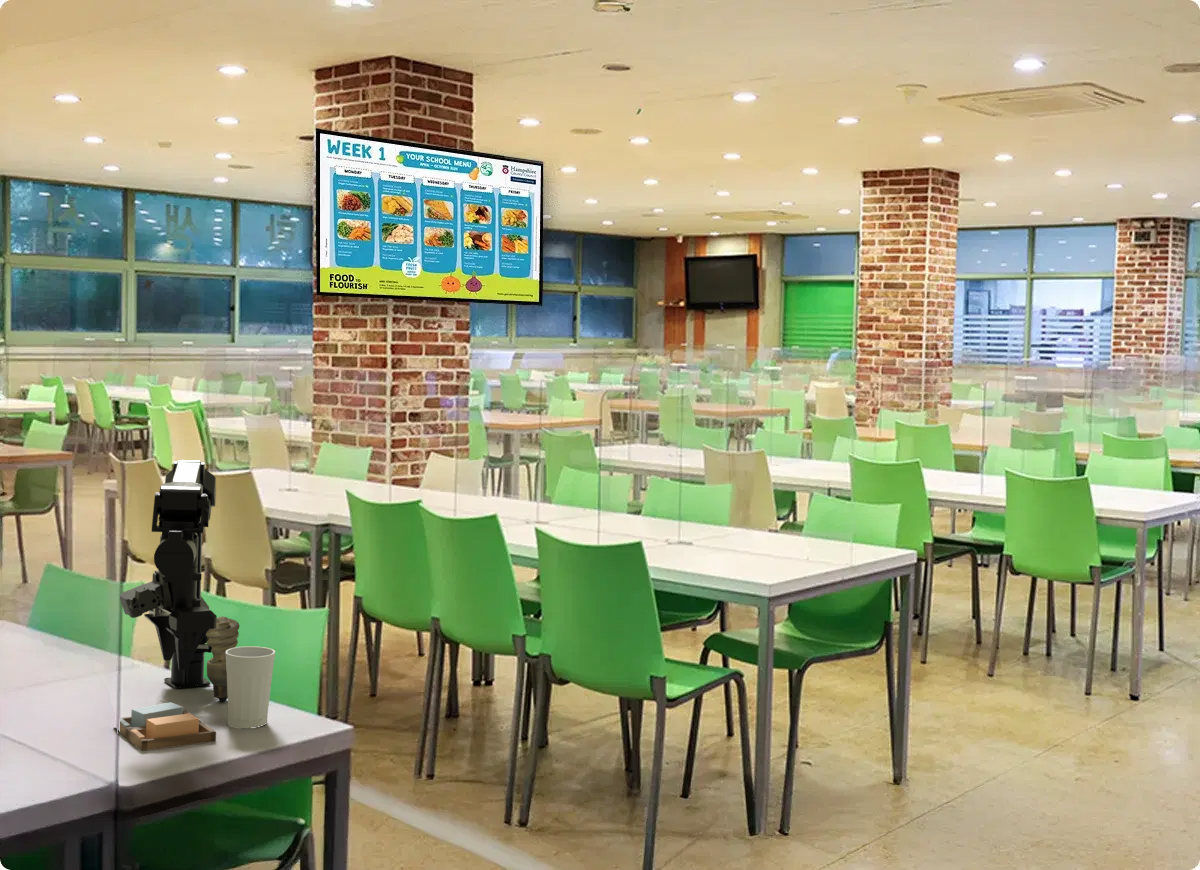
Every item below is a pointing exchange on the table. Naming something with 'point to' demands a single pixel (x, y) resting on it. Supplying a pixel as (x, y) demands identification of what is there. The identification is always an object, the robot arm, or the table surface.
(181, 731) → the terracotta bar
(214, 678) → the light bulb
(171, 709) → the slate bar
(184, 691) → the table surface
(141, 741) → the divided wooden tray
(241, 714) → the cup
